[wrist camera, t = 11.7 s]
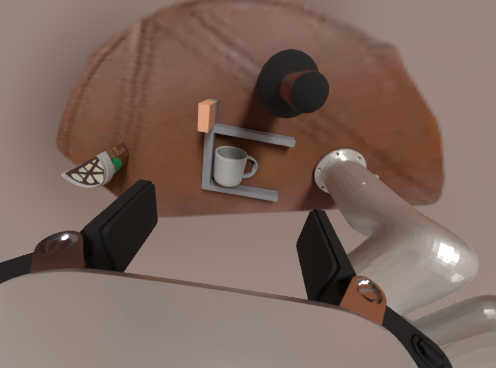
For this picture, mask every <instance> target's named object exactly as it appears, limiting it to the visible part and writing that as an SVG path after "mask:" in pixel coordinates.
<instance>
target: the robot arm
mask: <svg viewBox="0 0 496 368" xmlns="http://www.w3.org/2000/svg"><path fill="white" fill-rule="evenodd" d="M318 168H319V169H318ZM314 179H315V182H316V184H317V185H318V187H319V188H320V189H321V190H323V191H324V192H327V193H330V195H331V197H332V198H333V200H334V202H335V203H336V205H337V206H338V208H339V210H340V211H341V213H342V215H343V216H344V218H345V219H346V221H347V223H348V224H349V225H350V226H351V227H352V228H353V229H354V230H355V231H357V232H358V233H361V234H363V235H365V236H368V237H369V238H367V239H366V240H365V241H364V242H363V243H362V244H360V245H359V246H358V247H356V248H355V249H354V250H352V251H351V252H350V253H348V254H346V252H345V251H344V248H343V247H342V244H341V242H340V240H339V238H338V237H337V235H336V233H335V231H334V229H333V227H332V225H331V223H330V221H329V219H328V217H327V215H326V213H325V211H322V210H317V209H314V210H313V211H310V213H309V215H308V217H307V220H306V222H305V224H304V227H303V229H302V232H301V234H300V236H299V239H298V241H297V246H296V247H297V252H298V257H299V261H300V266H301V270H302V275H303V279H304V283H305V288H306V292H307V297H308V300H305V299H300V298H294V297H288V296H281V295H274V294H267V293H262V292H255V291H249V290H242V289H235V288H228V287H222V286H215V285H209V284H202V283H195V282H188V281H181V280H174V279H168V278H161V277H153V276H147V275H140V274H132V273H124V271H125V269H126V268H127V266H128V265H129V264H130V262H131V261H132V259H133V258H134V256H135V255H136V253H137V252H138V251H139V249H140V248H141V246H142V245H143V243H144V242H145V240H146V239H147V237H148V236H149V235H150V233H151V232H152V230H153V229H154V227H155V226H156V224H157V221H158V217H157V206H156V195H155V185H154V184H152V182H151V181H147V180H141V179H140V180H138V181H137V182H136V183H135V184H134V185H132V186H131V187H130V188H129V189H128V190H127V191H125V192H124V193H123V194H122V195H121V196H120V197H119V198H117V199H116V200H115V201H114V202H113V203H112V204H110V205H109V206H108V207H107V208H106V209H105V210H103V211H102V212H101V213H100V214H99V215H98V216H96V217H95V218H94V219H93V220H92V221H91V222H90V223H88V224H87V225H86V226H85V227H84V229H83V230H81V231H80V232H77V231H62V232H58V233H55V234H52V235H50V236H48V237H46V238H45V239H43V240H42V241H40V242H39V243H38V244H37V245H36V247H35V249H34V252H33V253H30V254H26V255H23V256H20V257H17V258H14V259H11V260H7V261H4V262H1V263H0V368H496V295H480V296H475V297H472V298H469V299H466V300H463V301H460V302H458V303H455V304H453V305H450V306H448V307H446V308H443V309H441V310H439V311H436V312H434V313H431V314H429V315H427V316H424V317H422V318H420V319H417V320H415V321H412V320H409V319H408V318H406V317H405V316H403V315H405V314H407V313H409V312H411V311H414V310H416V309H418V308H420V307H423V306H426V305H428V304H430V303H432V302H434V301H436V300H438V299H441V298H443V297H445V296H447V295H449V294H451V293H453V292H455V291H457V290H459V289H460V288H462V287H464V286H465V285H466V284H467V283H469V282H470V281H471V280H472V279H473V278H474V277H475V275H476V273H477V272H478V269H479V260H478V258H477V255H476V253H475V252H474V250H473V249H472V248H471V247H470V246H469V245H468V244H467V242H465V241H464V240H463V239H462V238H461V237H459V236H458V235H457V234H455V233H454V232H452V231H451V230H449V229H448V228H446V227H444V226H443V225H441V224H439V223H438V222H436V221H434V220H433V219H431V218H429V217H428V216H426V215H424V214H423V213H421V212H420V211H418V210H417V209H415V208H414V207H412V206H411V205H410V204H408V203H407V202H406V201H405V200H403V199H402V198H401V197H399V196H398V195H397V194H396V193H395V192H394V191H392V190H391V189H390V188H389V187H388V186H386V185H385V184H384V183H383V182H382V181H381V180H379V179H378V175H375V174H372V173H371V172H370V171H369V170H368V169H366V162H365V159H364V158H363V156H362V155H361V154H360V153H358V152H357V151H355V150H352V149H347V148H342V149H337V150H334V151H331V152H329V153H328V154H326V155H325V156H323V157H322V158H321V159H320V161H319V162H318V163H317V165H316V167H315V171H314Z"/></svg>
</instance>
